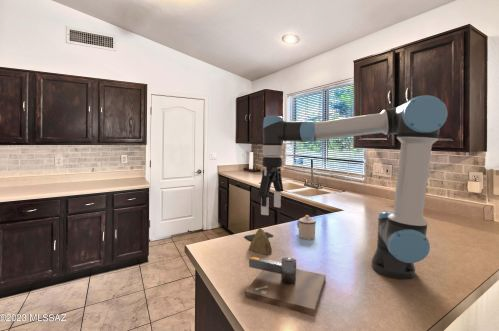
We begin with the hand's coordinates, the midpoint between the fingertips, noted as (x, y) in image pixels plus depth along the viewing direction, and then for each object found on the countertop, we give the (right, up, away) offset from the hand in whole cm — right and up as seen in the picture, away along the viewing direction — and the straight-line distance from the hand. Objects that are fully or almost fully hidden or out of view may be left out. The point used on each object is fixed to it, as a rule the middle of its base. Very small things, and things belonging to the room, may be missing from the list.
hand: (271, 210), depth 102 cm
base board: (+4, -24, -13) cm, 28 cm away
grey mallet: (-1, -21, -10) cm, 24 cm away
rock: (-4, -22, +18) cm, 28 cm away
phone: (-3, -21, +37) cm, 43 cm away
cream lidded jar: (+22, -21, +39) cm, 49 cm away
